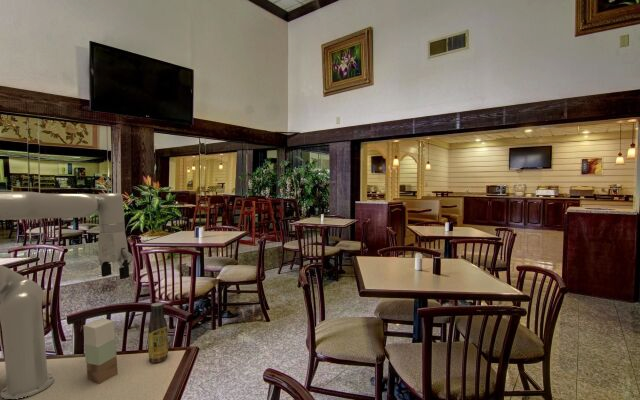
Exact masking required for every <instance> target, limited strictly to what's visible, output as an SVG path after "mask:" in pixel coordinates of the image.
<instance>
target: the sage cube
mask: <svg viewBox="0 0 640 400" xmlns="http://www.w3.org/2000/svg"><path fill="white" fill-rule="evenodd" d="M84 356H85V357H84V358H85V363H86V364H87V363H89V364H94V365H101V364H103V363H105V362H107V361H108V360H110V359H112V358H114V357H116V356H117V344H116V338H115V339H113V340H111V341H109V342H106V343H104V344H102V345H100V346H97V347H94V346H91V345H87V344H85V343H84Z"/></svg>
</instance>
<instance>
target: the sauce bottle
mask: <svg viewBox="0 0 640 400" xmlns="http://www.w3.org/2000/svg"><path fill="white" fill-rule="evenodd" d="M150 309H151V317H150V318H151V319H150V320H149V323H148V327H147V328H148V331H147V336H148V337H147V339H148V341H147V342H148V346H147V348H148V360H149V363H152V364H156V363H161V362H164V361H165V360H167V359H168V354H169V339H168V338H169V337H168V333H169V332H168V323H167V319H166V317H165V316H164V315H165V314H164V302H155V303H152V304H151V305H150Z"/></svg>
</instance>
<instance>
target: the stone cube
mask: <svg viewBox="0 0 640 400" xmlns="http://www.w3.org/2000/svg"><path fill="white" fill-rule="evenodd" d="M82 328H83V337H84V338H83V339H84V344H87V345H91V346H94V347H97V346H100V345H102V344H104V343H106V342H109V341H111V340H113V339H115V340H116V337H115V336H116V334H115V321H114V320H111V319H108V318H99V319H97V320H93V321H91V322H88V323H86V324H83V327H82Z"/></svg>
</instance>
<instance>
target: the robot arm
mask: <svg viewBox="0 0 640 400" xmlns="http://www.w3.org/2000/svg"><path fill="white" fill-rule="evenodd" d="M123 198H124V196H123V194H121V193H118V192H107V193H106V192H104V193H98V194H95V193H45V192H44V193H43V192H35V191H0V221H7V220H12V221H13V220H40V219H68V218H69V219H70V218H71V219H73V218H87V217H91V216H93V215H95V214H98V224H99V225H98V226H99V227H98V228H99V234H98V238H97V241H98V242H97V251H96V254H97V258H98V261H99V265H100V271H101V273H100V274H101V277H102V278H104V277H107V276H111V275H112V274H113V273H112V264H111V263H117V264H118V265H119V268H118V271H119V273H118V274H119V279H120V280H125V279H127V278H130V266H131V262H132V258H133V254H132V253H131V252H130V251H129V248H128V247H129V246H128V241H127V234H126V227H125V225H126V223H125V212H124V209H125V208H124V199H123ZM43 299H44V290H43V288H42V287H41V285H40V284H38V283H37V282H35V281H34V280H31V279H29V278H28V277H26V276H24V275H22V274H21V273H19V272H16V271H15V270H13V269H11V268H9V267H6V266H4V265H2V264H1V265H0V326H1V332H2V333H1V335H2V343H3V344H2V345H3V353H4V364H5V365H4V366H5V377H6V378H5V379H6V386H5V387H4V388H3V389H2V390H1V391H0V398H1V397H2V398H4V399H16V398H21V397H25V398H28V397H31V396H34V395H37V394H39V393H40V392H42V391H44V390H46V389H48V388H49V387H50V386H52V384H53V383H54V381H55V376H54V375H53V374H52V373H48V365H47V364H48V363H47V353H46V352H47V351H46V339H45V328H44V317H43V307H42V306H43ZM27 396H28V397H27ZM2 398H1V399H2ZM4 399H3V400H4Z"/></svg>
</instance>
